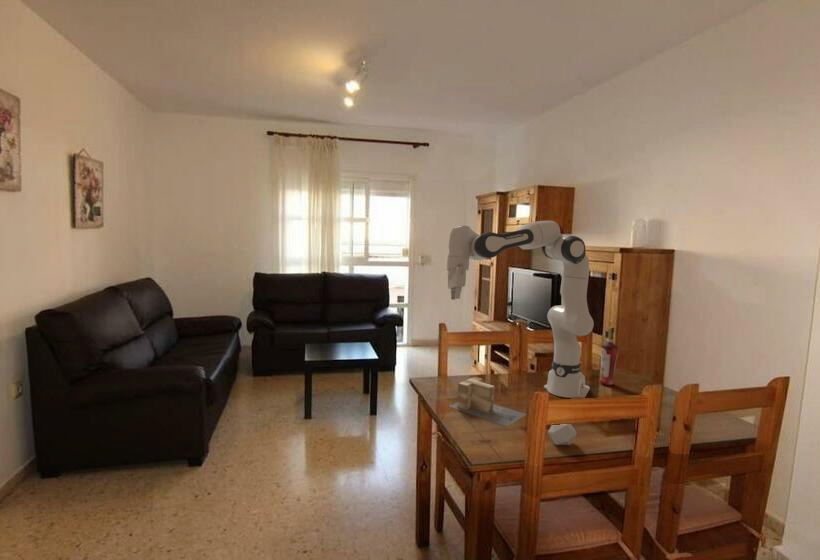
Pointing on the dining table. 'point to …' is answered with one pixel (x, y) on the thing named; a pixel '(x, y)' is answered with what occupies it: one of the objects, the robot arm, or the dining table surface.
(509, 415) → the t mat
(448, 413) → the dining table surface
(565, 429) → the die
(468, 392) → the t block
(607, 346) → the liquor
